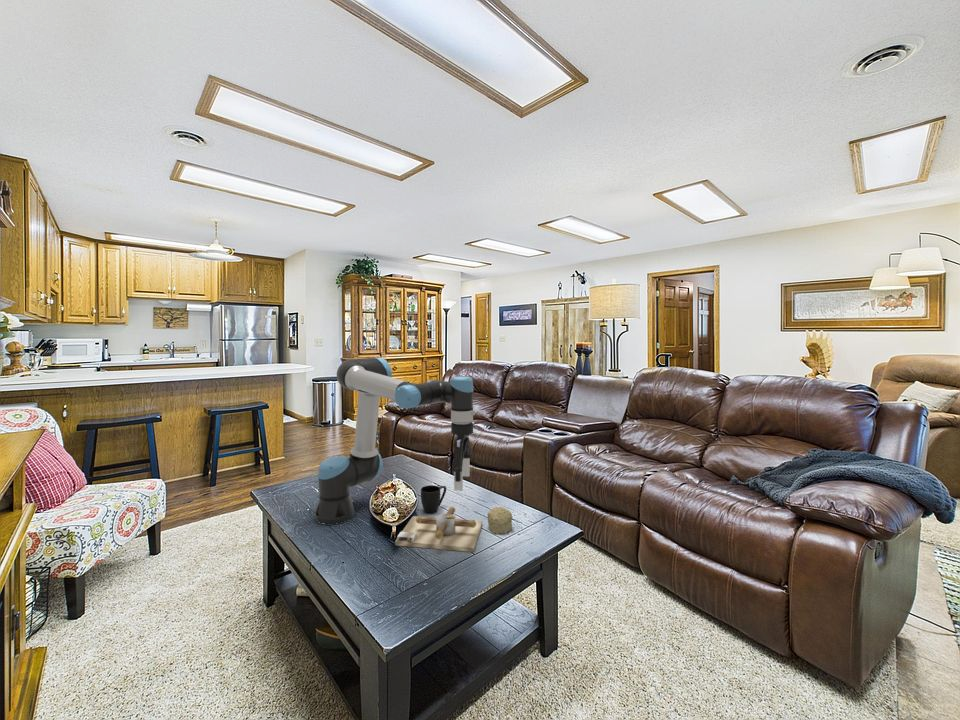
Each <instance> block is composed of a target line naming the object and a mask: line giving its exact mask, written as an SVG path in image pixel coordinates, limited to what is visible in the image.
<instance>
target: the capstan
mask: <svg viewBox="0 0 960 720" xmlns="http://www.w3.org/2000/svg"><path fill="white" fill-rule="evenodd" d="M454 513H456V508H455V507H454V506H450V507H449V508H448V510H447V512H446V513H441V514H439V515H437V516H436V517H433V516H421V515H418V517H417V518H416V522H417V523H419V524H420V523H422V524H435V525H436V534H435V536H436V538H437V539H441V538H442V537H443V536H448V535H452V534H454V533H455V526H461V527H472V528H474V527H475V526H476V521H477V520H473V519H460V518H456V516H455V514H454Z"/></svg>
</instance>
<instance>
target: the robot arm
mask: <svg viewBox="0 0 960 720" xmlns="http://www.w3.org/2000/svg"><path fill="white" fill-rule="evenodd" d="M389 364H390V363H389V362H388V361H387V360H386V359H384V358H383V357H372V356H371V357H362V358H351V359H347V360H344V361H343V362H342V363H341V364H340V365H339V366H338V367H337V371H336V379H337V382H338V384H339V385H340V386H342V387H343V388H345V389H346V390H347V389H348V390H350V391H353V392H355V391H356V392H358V398H357V399H358V400H357V410H356V411H357V413H356V424H355V435H354V436H355V437H354V444H353V447H352V448H351V449H350V451H349V457H348V456H346V455H345V456H344V455H338V456H337V455H336V456H332V457H329V458H326V459H324V460H322V461H321V463H320V464H319V466H318V473H317V476H318V502H317V505H316V509H315V512H314V520H315V519H316V520H317V521H318V522H320V523H325V524H335V525H337V524H336V523H340V524H342V523H341V522H343V523H345V522H344V521H346V522H348V521H350V520H351V519H353V518H354V516H355V507H354V504H353V501H352V499H351V495H350V494H351V493H350V492H351V491H350V488H352V487H354V486H358V485H360V484H363V483H366V482H370V481H372V480H374V479H376V478H378V477H379V476H380V474H381V473H382V471H383V466H384V464H383V460H382V456H381V453H379V450H378V449H377V448H376V441H377V431H378V422H379V421H378V420H379V411H380V402H381V401H380V399H381V398H384V399H387V400H390V401H393V402H395V403H396V405H398V407H399V408H401V409H414V408H416V407H421V406H426V405H432V404H437V403H443V404H444V403H445V404H450V421H451V424H450V428H451V429H450V432H451V434H452V435H454V436H457V437H456V439H455V440H454V449H453V450H454V452H453V453H454V454H453V460H452V461H453V463H452V468H451V472H453V487H454V488H453V490H454V491H457V492H458V491H459V492H463V490H464V489H463V488H464V485H463V483H464V482H463V481H464V478H463V477H468V478H469V477H470V475H471V474H470V472H471V470H470V468H471V467H470V465H471V464H470V458H472V457H473V455H472V454H471V453H472V452H471V444H470V435H472V434H473V433H474V422H473V421H474V416H475V414H476V413H475V412H474V406H473V405H474V391H475V390H474V381H473V378H472V377H470V376H467V375H466V376H463V375H462V376H460V375H459V376H452V377H451V379H450V381H445V380H439V379H430V380H428V381H426V382H421V383H420V382H419V383H413V382H410V381H409V382H408V381H406V380H403V379H398V378H395V377H393V372H392V368H391V366H390V365H389ZM352 517H353V518H352ZM350 518H351V519H350ZM349 519H350V520H349ZM347 520H348V521H347Z"/></svg>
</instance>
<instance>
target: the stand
mask: <svg viewBox="0 0 960 720" xmlns="http://www.w3.org/2000/svg"><path fill="white" fill-rule="evenodd" d="M418 516H419V515H418ZM418 516H416V515H413V516H412V517H411V518H410V519H409V521H408V522H407V524H406V525H405V527H404V528H403V530H401V531H400V532H399V534H398V535H397V537H396V540H394V541H395V542H394V545H395V546H400V547H410V548H421V549H423V548H424V549H431V550H432V549H436V550H443V551H447V550H448V551H457V552H458V551H459V552H466V553H468V552H469V553H474V552H475V549H476V547H477V542H478V541H479V540H478V539H479V538H480V537H479V536H480V533H481V530H482V527H483V521H482V520H475V521H476V526H475V527H474V528H472V527H461V526H455V533H454V534H452V535H448V536H443V537H442V538H441V539H437V538H436V536H435V534H436V525H435V524H422V523H420V524H419V523H417V522H416V518H417V517H418Z"/></svg>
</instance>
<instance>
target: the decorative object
mask: <svg viewBox="0 0 960 720" xmlns="http://www.w3.org/2000/svg"><path fill="white" fill-rule="evenodd" d="M512 521H513V513H512V512H511V511H510V509H507V508H504V507H502V506H501V507H500V506H495V507H494V508H492V509H490V510H489V511H488V512H487V523H488V530H489V529H490V530H489V531H490V532H491V533H492V532H493V533H492V534H494V533H496V534H495V535H501V534H502V535H503V533H504V534H507V533H506V532H508V531H509V532H511V530H512V528H513V524H512ZM509 532H508V533H509ZM500 533H501V534H500Z"/></svg>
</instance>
